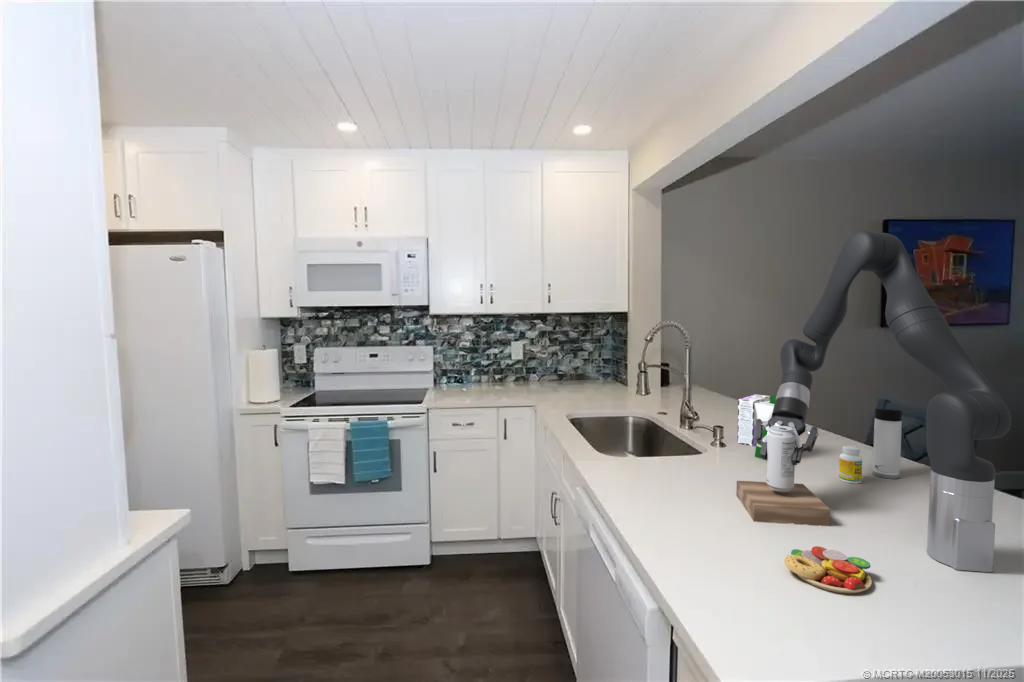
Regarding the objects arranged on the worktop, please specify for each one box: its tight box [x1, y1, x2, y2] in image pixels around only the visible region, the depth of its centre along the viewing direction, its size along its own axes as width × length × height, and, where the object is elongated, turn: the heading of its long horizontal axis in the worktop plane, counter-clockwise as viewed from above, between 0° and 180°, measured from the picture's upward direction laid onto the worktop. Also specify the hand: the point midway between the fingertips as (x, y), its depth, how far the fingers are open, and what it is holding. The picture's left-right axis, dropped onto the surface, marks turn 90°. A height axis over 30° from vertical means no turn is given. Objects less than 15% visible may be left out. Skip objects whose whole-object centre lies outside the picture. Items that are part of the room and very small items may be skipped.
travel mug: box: [872, 408, 903, 480], centre depth 143 cm, size 6×7×20 cm
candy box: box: [736, 393, 771, 447], centre depth 181 cm, size 14×6×16 cm, turn 130°
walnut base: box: [735, 480, 831, 527], centre depth 122 cm, size 16×16×4 cm
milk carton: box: [754, 395, 777, 460], centre depth 161 cm, size 9×9×20 cm
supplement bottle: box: [838, 445, 863, 485], centre depth 140 cm, size 5×5×10 cm
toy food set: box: [783, 546, 873, 595], centre depth 93 cm, size 13×13×3 cm
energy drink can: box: [765, 425, 796, 492], centre depth 121 cm, size 6×6×15 cm
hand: (779, 460), depth 120 cm, fingers closed on energy drink can, 6 cm apart
